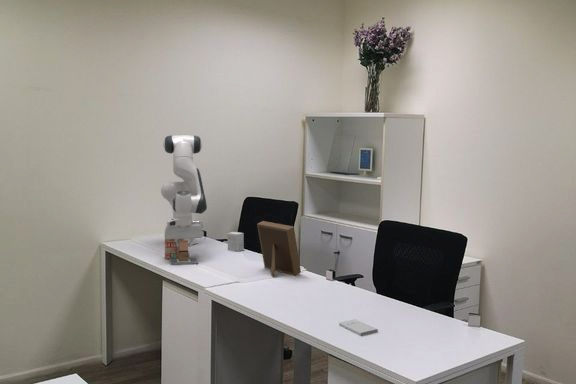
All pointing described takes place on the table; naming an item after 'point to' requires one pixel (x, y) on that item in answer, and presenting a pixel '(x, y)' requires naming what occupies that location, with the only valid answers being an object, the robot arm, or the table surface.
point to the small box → (235, 241)
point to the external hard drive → (358, 327)
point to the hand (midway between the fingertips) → (183, 246)
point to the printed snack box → (171, 248)
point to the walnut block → (183, 255)
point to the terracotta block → (183, 245)
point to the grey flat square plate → (176, 261)
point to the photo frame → (279, 248)
